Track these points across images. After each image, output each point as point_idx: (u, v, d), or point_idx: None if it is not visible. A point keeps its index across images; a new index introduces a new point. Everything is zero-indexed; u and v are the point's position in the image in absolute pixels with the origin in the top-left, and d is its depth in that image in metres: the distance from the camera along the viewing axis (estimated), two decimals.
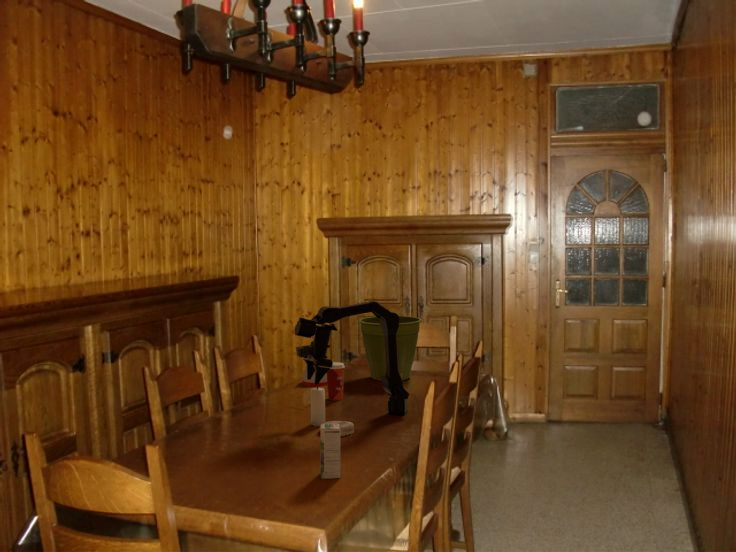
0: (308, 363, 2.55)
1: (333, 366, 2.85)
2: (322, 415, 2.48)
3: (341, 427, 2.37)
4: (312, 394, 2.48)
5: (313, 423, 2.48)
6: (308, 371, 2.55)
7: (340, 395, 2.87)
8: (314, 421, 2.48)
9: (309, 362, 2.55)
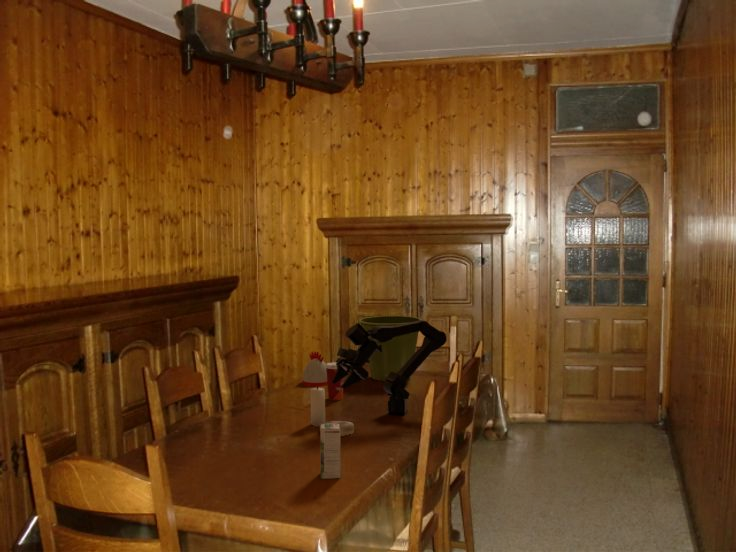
0: (339, 369, 2.59)
1: (333, 366, 2.85)
2: (322, 415, 2.48)
3: (341, 427, 2.37)
4: (312, 394, 2.48)
5: (313, 423, 2.48)
6: (336, 376, 2.58)
7: (340, 395, 2.87)
8: (314, 421, 2.48)
9: (341, 368, 2.59)
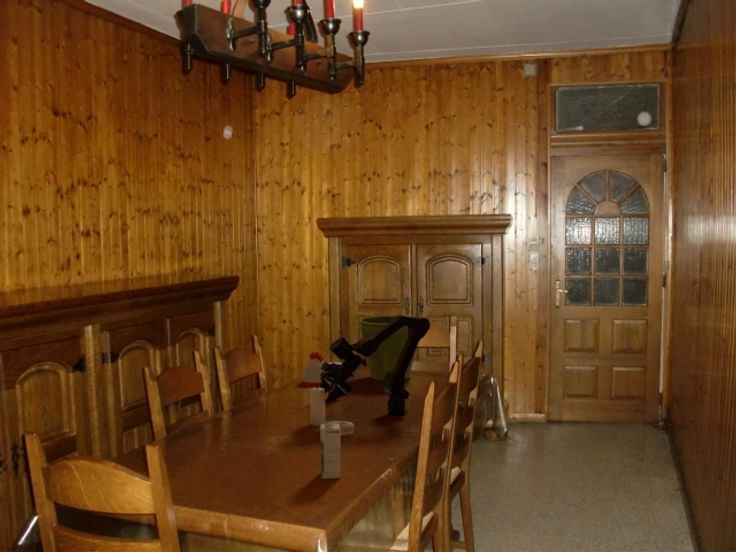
0: (323, 383, 2.56)
1: None
2: (322, 415, 2.48)
3: (341, 427, 2.37)
4: (312, 394, 2.48)
5: (313, 423, 2.48)
6: None
7: None
8: (314, 421, 2.48)
9: (325, 382, 2.56)
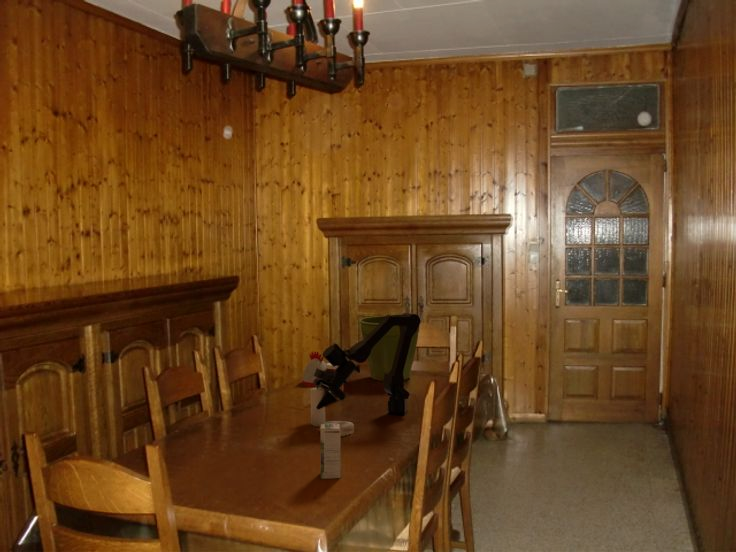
0: None
1: (333, 366, 2.85)
2: (322, 415, 2.48)
3: (341, 427, 2.37)
4: (312, 394, 2.48)
5: (313, 423, 2.48)
6: None
7: None
8: (314, 421, 2.48)
9: None
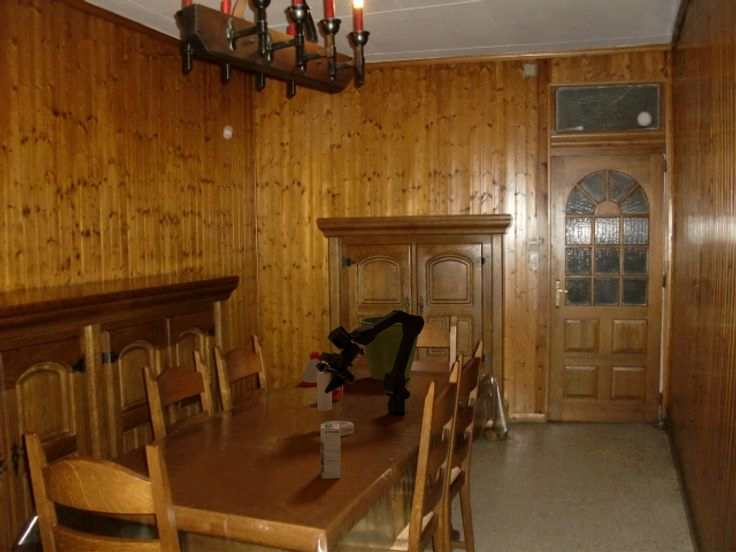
0: None
1: None
2: (330, 399, 2.43)
3: (341, 427, 2.37)
4: (319, 378, 2.42)
5: (321, 408, 2.43)
6: None
7: (340, 395, 2.87)
8: (322, 405, 2.43)
9: None
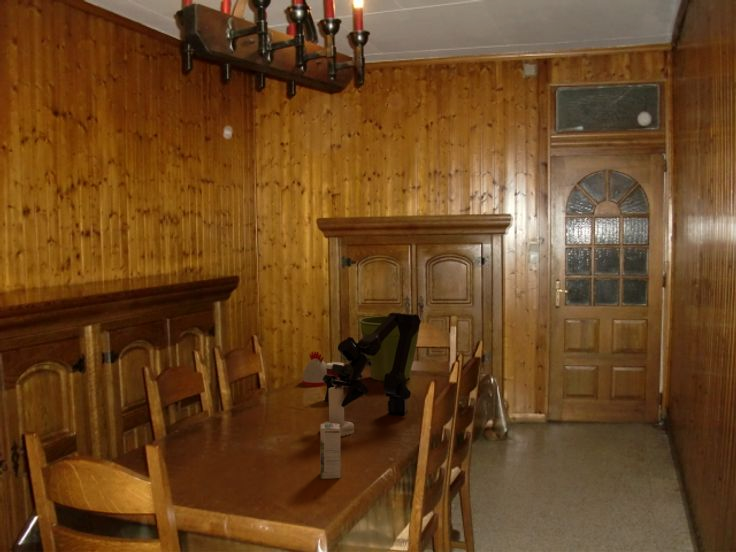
0: (330, 386, 2.44)
1: None
2: (343, 415, 2.39)
3: (341, 427, 2.37)
4: (332, 394, 2.37)
5: None
6: (328, 394, 2.43)
7: None
8: (336, 422, 2.38)
9: (331, 386, 2.45)
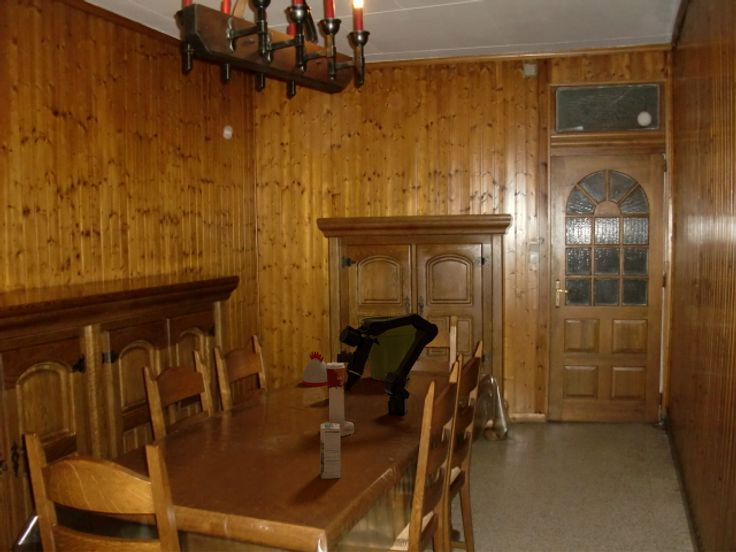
0: None
1: (333, 366, 2.85)
2: (343, 415, 2.39)
3: (341, 427, 2.37)
4: (333, 394, 2.37)
5: None
6: None
7: None
8: (336, 422, 2.38)
9: None
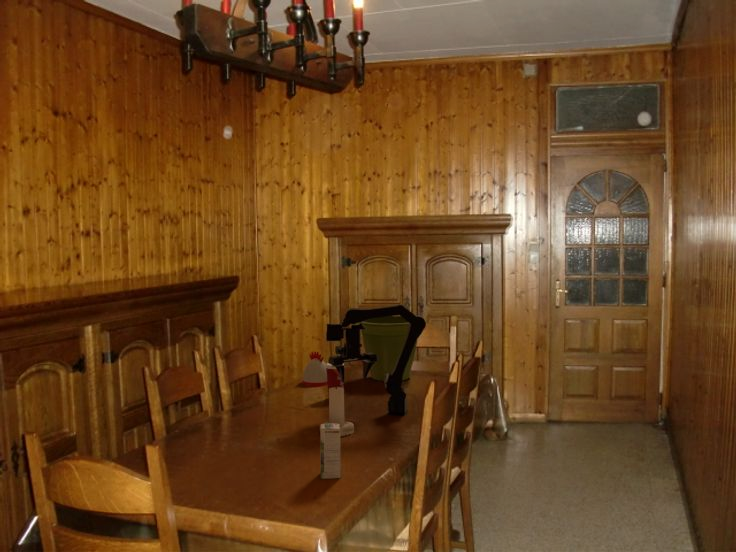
0: (363, 364, 2.66)
1: (333, 366, 2.85)
2: (343, 415, 2.39)
3: (341, 427, 2.37)
4: (333, 394, 2.37)
5: None
6: (363, 371, 2.66)
7: None
8: (336, 422, 2.38)
9: (363, 363, 2.66)
